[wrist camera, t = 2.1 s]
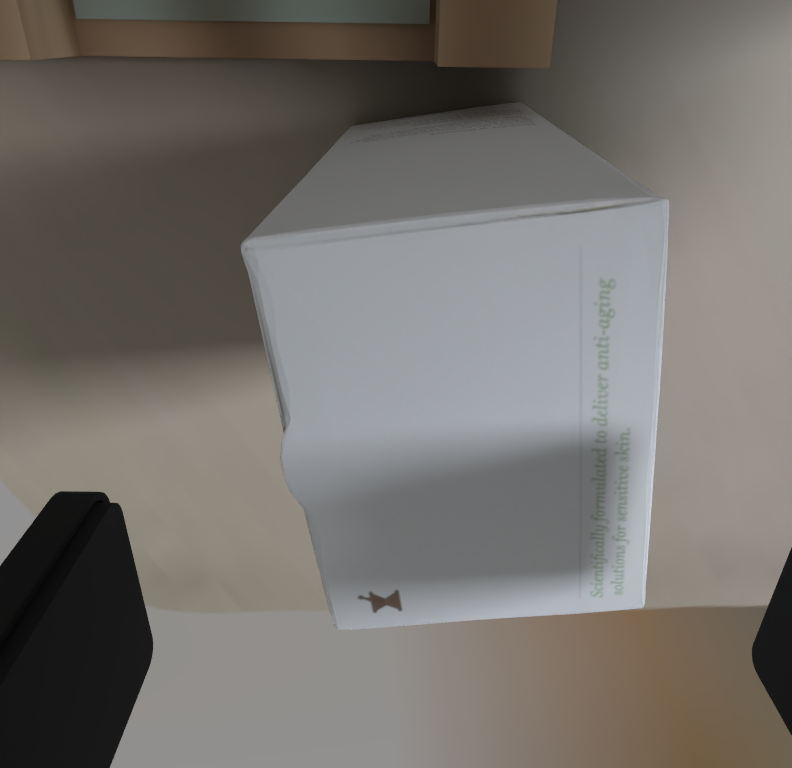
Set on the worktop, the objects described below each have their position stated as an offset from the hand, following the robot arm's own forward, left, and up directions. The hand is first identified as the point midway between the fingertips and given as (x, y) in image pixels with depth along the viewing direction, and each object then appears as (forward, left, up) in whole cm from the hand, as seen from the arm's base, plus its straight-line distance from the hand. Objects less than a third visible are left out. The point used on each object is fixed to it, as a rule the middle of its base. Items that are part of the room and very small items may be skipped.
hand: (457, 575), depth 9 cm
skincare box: (0, 0, -18) cm, 18 cm away
